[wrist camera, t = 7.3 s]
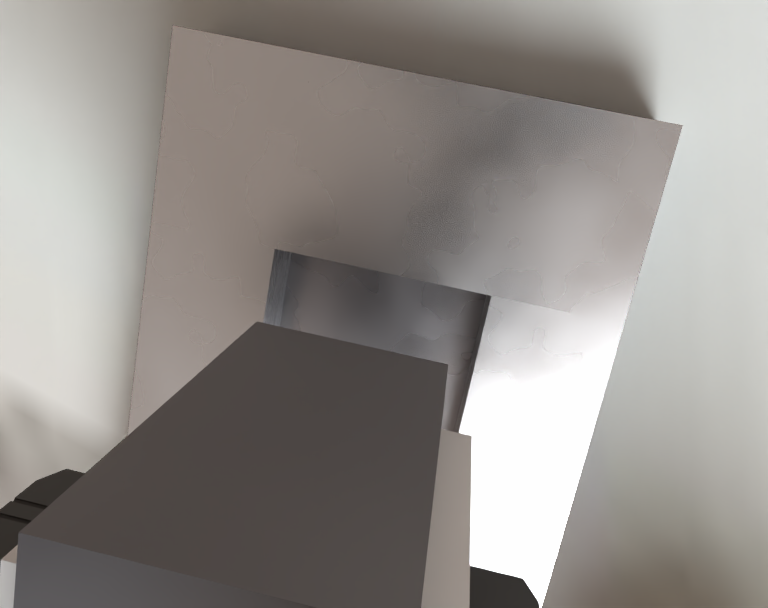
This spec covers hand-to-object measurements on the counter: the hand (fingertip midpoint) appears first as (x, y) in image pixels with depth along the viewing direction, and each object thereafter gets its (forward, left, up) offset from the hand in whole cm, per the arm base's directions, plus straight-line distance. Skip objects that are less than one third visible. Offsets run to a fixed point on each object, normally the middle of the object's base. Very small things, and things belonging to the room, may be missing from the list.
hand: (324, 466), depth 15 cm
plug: (0, 0, -1) cm, 1 cm away
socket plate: (0, 0, -7) cm, 7 cm away
